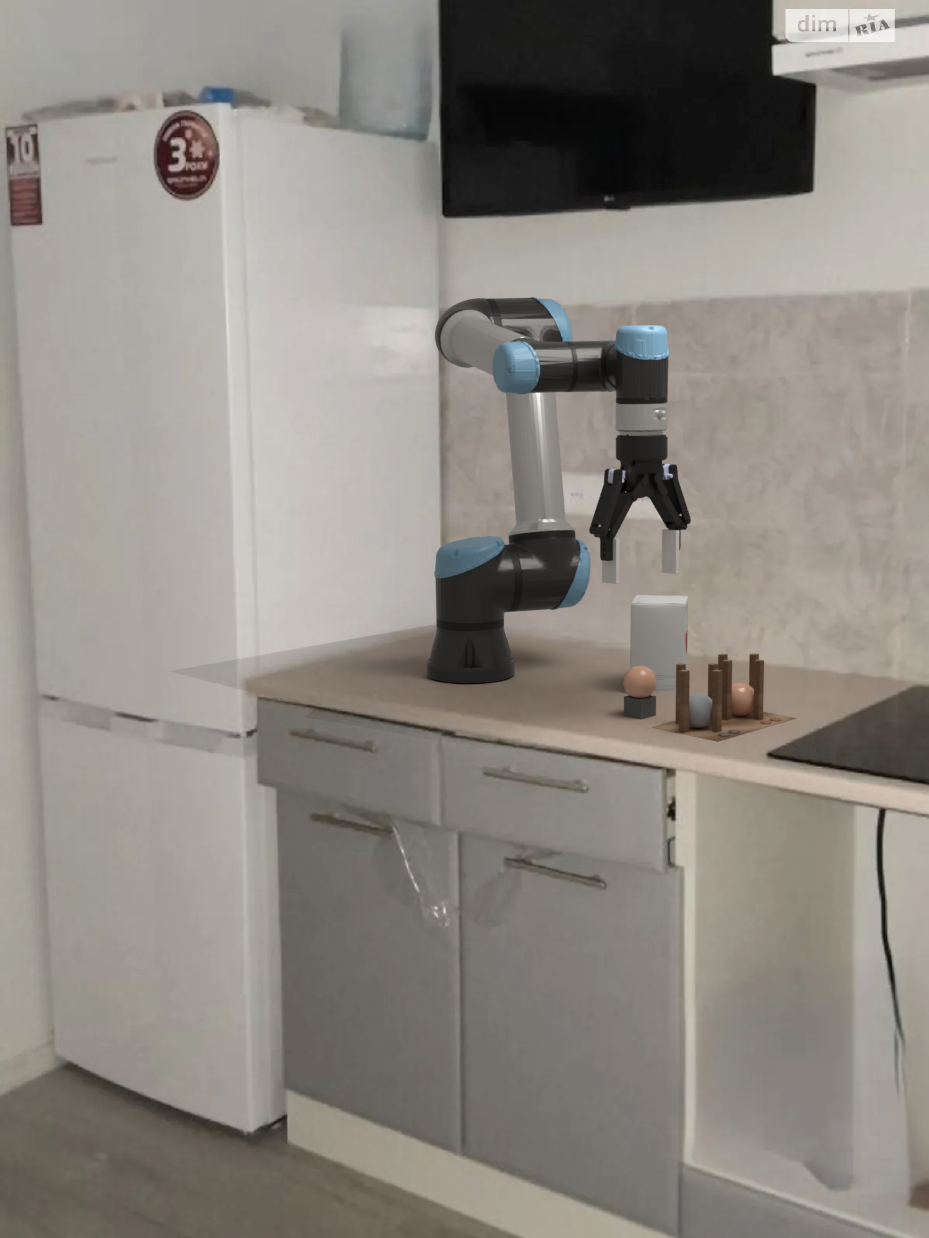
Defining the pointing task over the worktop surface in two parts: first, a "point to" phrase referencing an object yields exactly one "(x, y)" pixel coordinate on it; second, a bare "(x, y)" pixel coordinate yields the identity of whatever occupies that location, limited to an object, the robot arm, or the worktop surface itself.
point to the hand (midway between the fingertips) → (641, 578)
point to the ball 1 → (700, 710)
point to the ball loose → (640, 682)
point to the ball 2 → (742, 699)
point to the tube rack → (722, 702)
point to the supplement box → (659, 636)
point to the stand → (639, 707)
